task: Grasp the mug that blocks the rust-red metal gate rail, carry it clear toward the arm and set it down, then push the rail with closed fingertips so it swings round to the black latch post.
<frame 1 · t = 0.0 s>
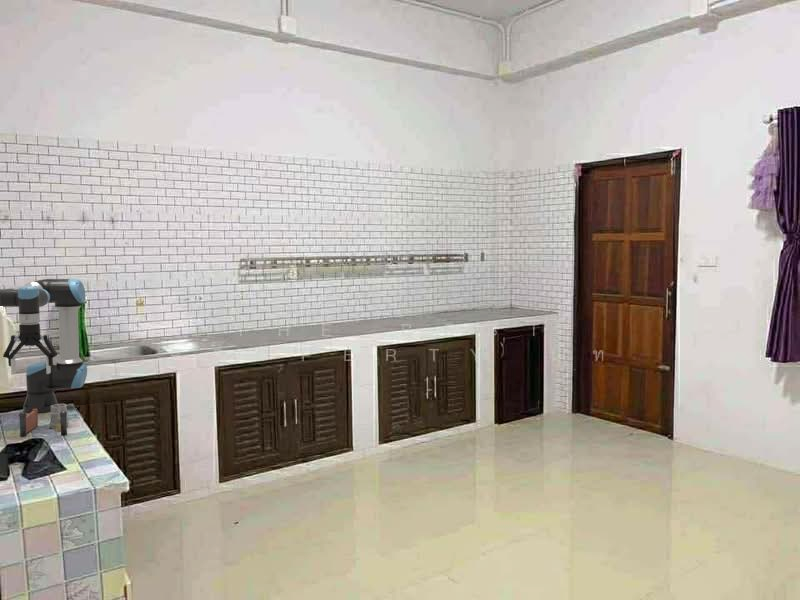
hand: (31, 373, 275), 28 cm above the countertop, fingers open, 13 cm apart
latch post: (63, 434, 284), on the countertop
mug: (59, 428, 294), on the countertop
hinge post: (23, 436, 281), on the countertop
gate: (30, 421, 288), point 4 cm above the countertop, hinge at 90.0°
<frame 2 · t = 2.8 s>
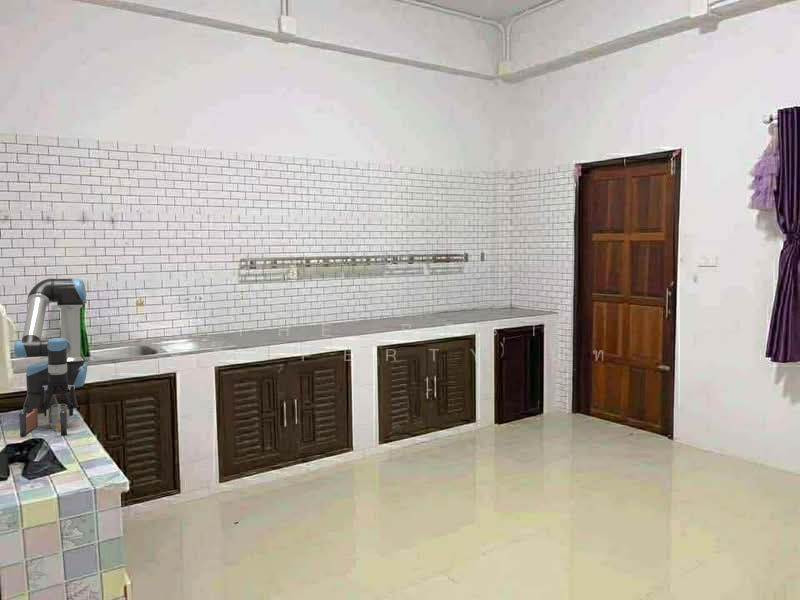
hand: (59, 423, 293), 2 cm above the countertop, fingers open, 8 cm apart
mug: (59, 428, 294), on the countertop, touching gripper
everything else where it was.
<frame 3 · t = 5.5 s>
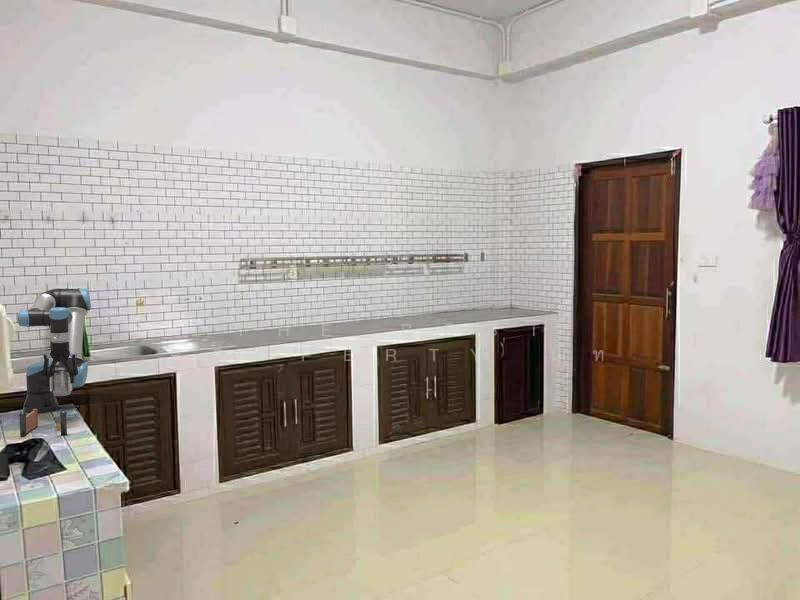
hand: (61, 390, 302), 15 cm above the countertop, fingers closed on mug, 7 cm apart
mug: (62, 395, 302), point 12 cm above the countertop, touching gripper
everything else where it was.
when the fingers open (4 cm above the countertop, at t = 7.8 s): mug drops 1 cm, on the countertop.
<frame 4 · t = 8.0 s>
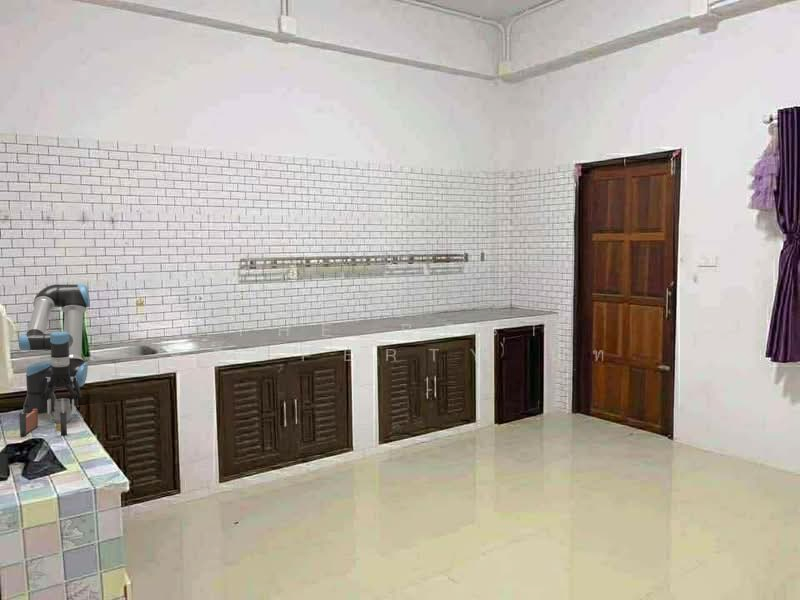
hand: (61, 413, 303), 4 cm above the countertop, fingers open, 10 cm apart
mug: (62, 422, 303), on the countertop
everything else where it was.
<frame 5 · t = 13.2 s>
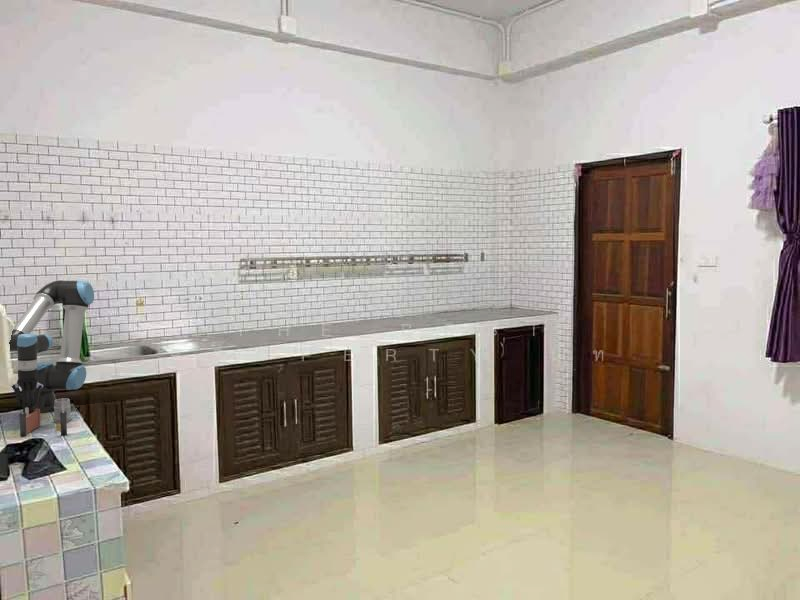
hand: (28, 421, 291), 4 cm above the countertop, fingers closed
gate: (31, 421, 288), point 4 cm above the countertop, hinge at 85.5°, touching gripper
everything else where it was.
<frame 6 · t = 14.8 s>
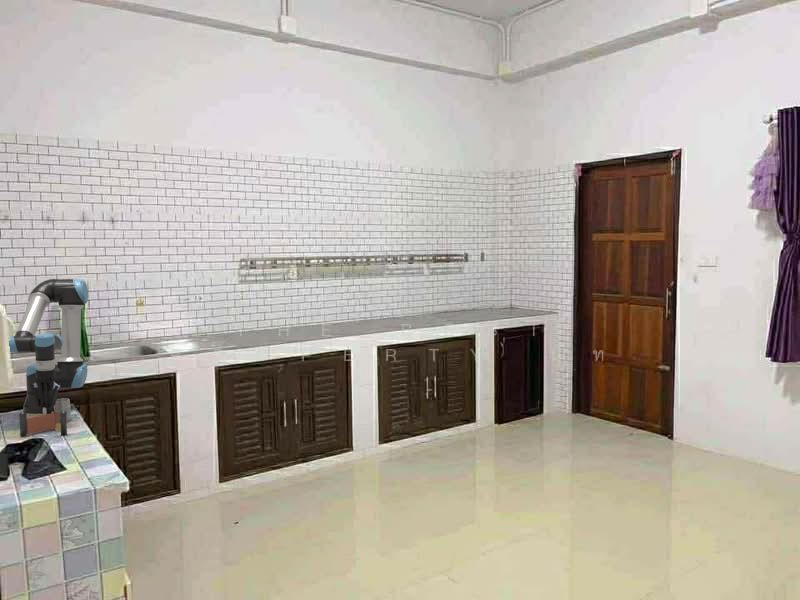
hand: (46, 421, 291), 4 cm above the countertop, fingers closed
gate: (42, 422, 287), point 4 cm above the countertop, hinge at 42.4°, touching gripper
everything else where it was.
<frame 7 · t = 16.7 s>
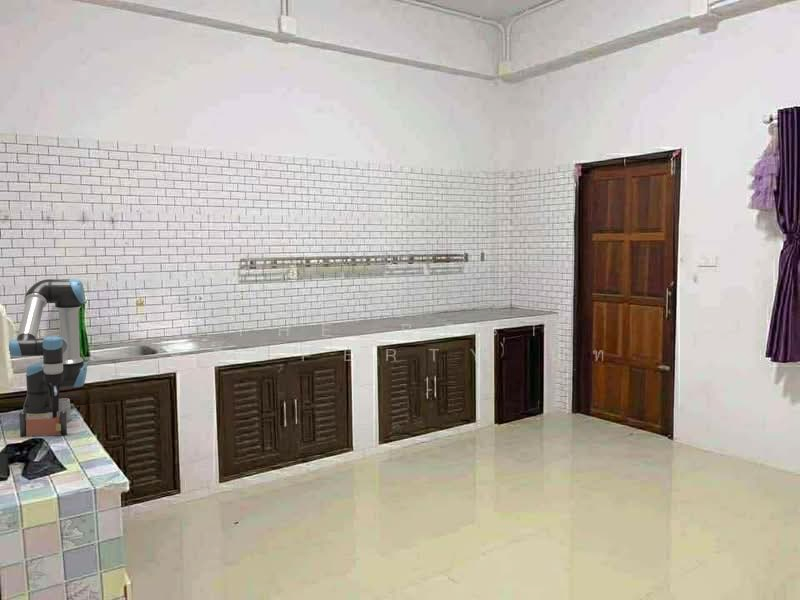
hand: (54, 425, 285), 3 cm above the countertop, fingers closed
gate: (43, 425, 282), point 4 cm above the countertop, hinge at -0.2°, touching gripper
everything else where it was.
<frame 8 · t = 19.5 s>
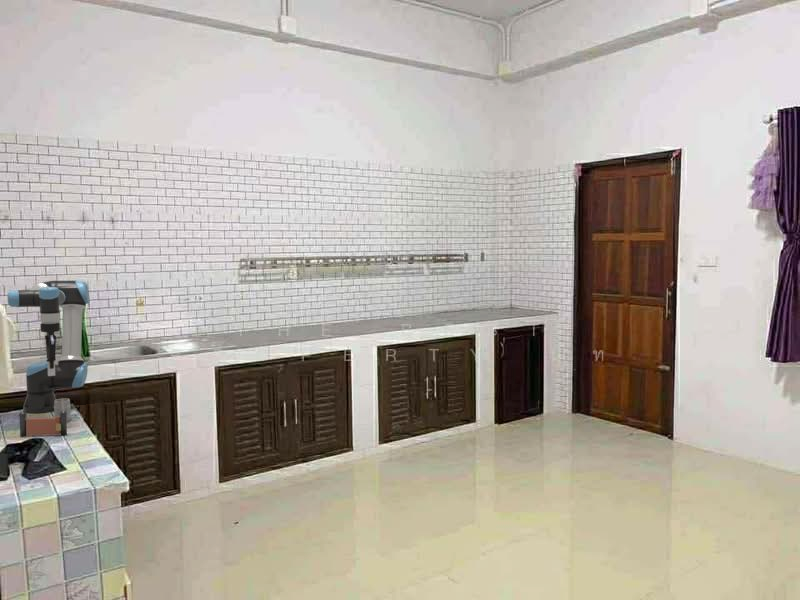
hand: (51, 375, 289), 24 cm above the countertop, fingers closed
gate: (43, 425, 282), point 4 cm above the countertop, hinge at -0.2°
everything else where it was.
at the end: gate at +0° (first picture: +90°); mug inside the target area (0.3 cm from its centre), on the countertop; mug tilted 0° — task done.
